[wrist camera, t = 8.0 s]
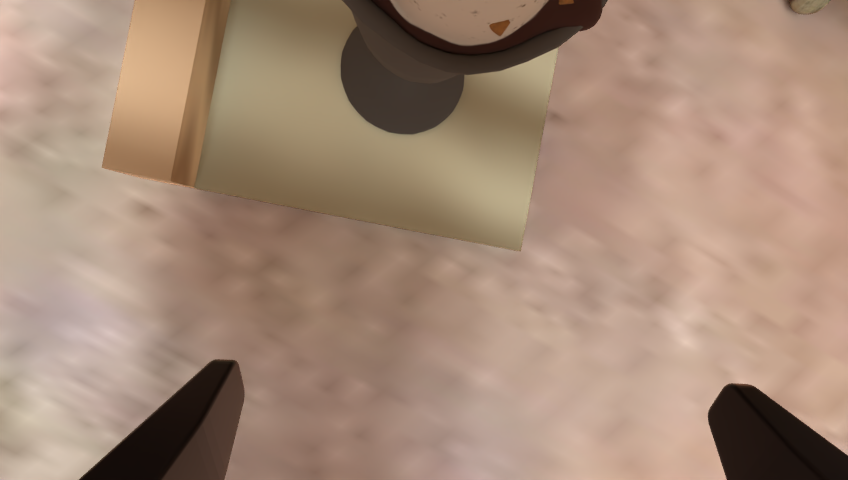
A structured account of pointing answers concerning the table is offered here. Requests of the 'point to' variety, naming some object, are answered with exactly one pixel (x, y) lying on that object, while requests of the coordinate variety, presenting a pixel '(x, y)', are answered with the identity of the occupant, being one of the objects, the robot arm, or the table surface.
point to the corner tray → (317, 122)
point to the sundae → (444, 51)
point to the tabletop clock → (807, 6)
